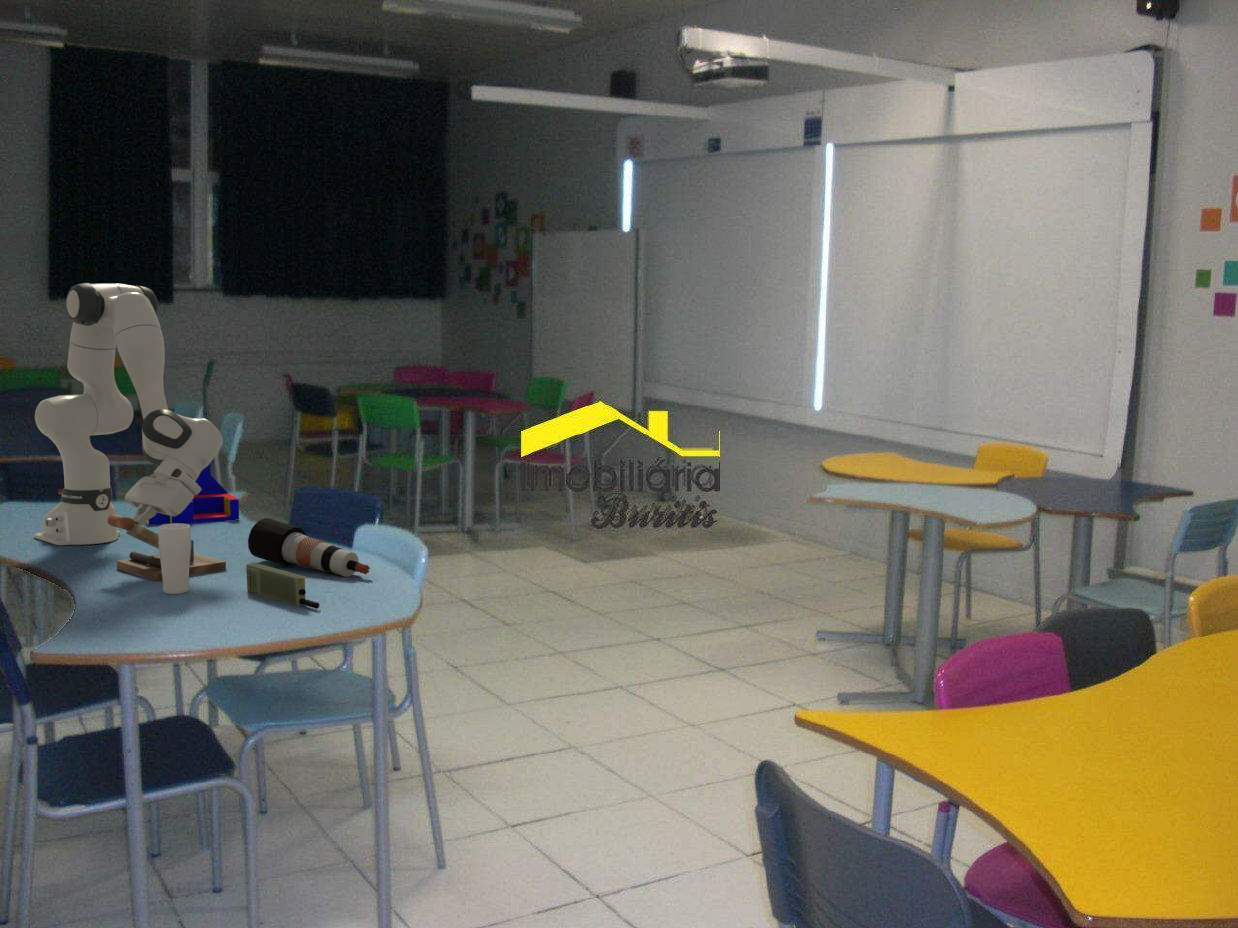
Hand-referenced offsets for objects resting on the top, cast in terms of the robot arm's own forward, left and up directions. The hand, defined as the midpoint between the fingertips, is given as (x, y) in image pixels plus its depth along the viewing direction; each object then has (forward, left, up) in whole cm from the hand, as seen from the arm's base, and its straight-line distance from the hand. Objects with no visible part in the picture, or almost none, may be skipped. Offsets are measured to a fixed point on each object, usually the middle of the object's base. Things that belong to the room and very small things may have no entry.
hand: (136, 523), depth 282 cm
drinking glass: (+20, -6, -13) cm, 25 cm away
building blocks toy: (-50, +58, -13) cm, 78 cm away
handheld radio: (+44, +2, -13) cm, 46 cm away
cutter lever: (+2, +12, -9) cm, 16 cm away
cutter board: (+1, +9, -12) cm, 15 cm away
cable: (+28, +28, -13) cm, 42 cm away
